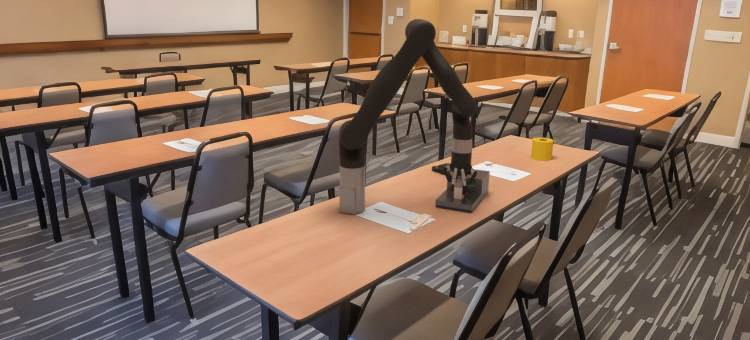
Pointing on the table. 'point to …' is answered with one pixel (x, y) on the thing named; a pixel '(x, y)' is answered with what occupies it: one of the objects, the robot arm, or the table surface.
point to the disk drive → (440, 168)
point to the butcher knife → (420, 221)
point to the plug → (458, 189)
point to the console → (471, 197)
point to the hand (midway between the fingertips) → (459, 193)
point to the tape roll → (542, 149)
